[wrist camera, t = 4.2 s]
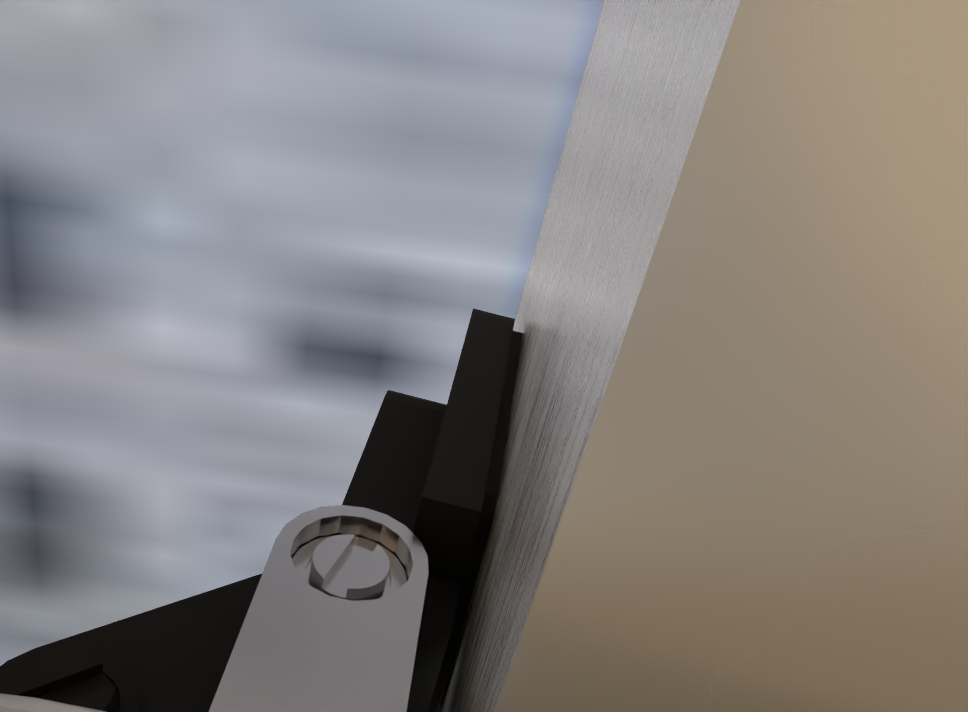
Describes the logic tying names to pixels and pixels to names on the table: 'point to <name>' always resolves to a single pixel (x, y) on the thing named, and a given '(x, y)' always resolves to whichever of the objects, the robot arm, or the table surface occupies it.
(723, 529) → the blanking panel
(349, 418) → the table surface
